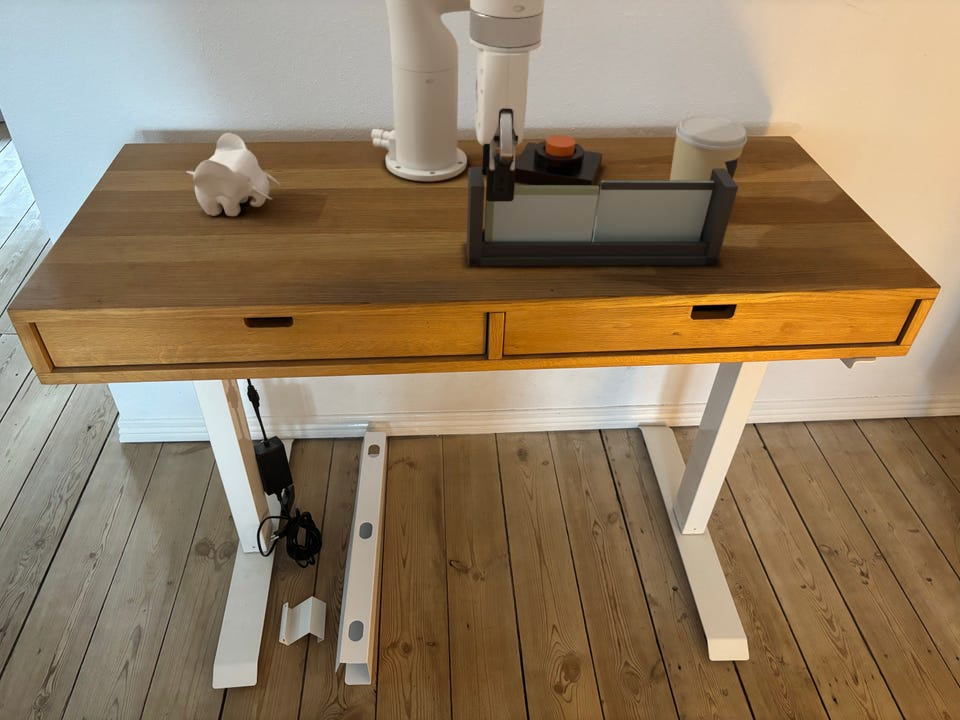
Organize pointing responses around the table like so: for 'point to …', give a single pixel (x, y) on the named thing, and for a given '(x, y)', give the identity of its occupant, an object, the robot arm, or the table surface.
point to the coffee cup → (706, 147)
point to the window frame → (623, 226)
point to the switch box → (556, 166)
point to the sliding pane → (542, 214)
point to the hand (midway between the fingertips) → (497, 185)
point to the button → (560, 145)
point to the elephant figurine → (230, 178)
